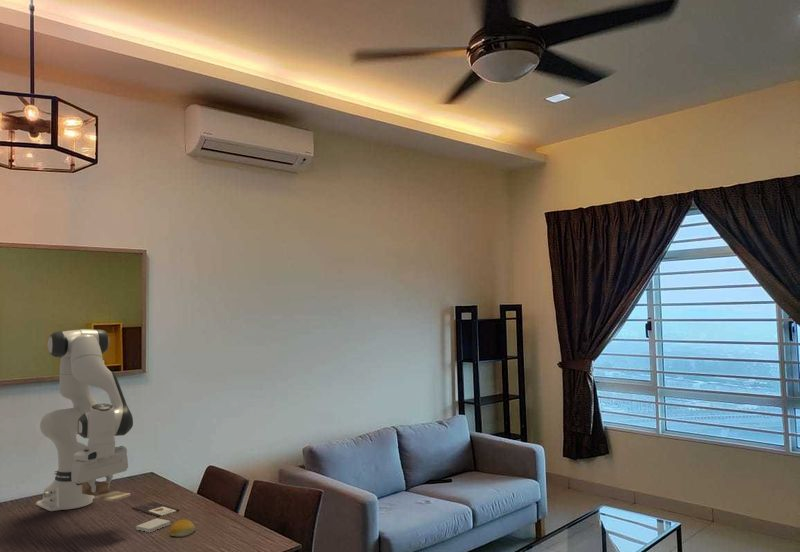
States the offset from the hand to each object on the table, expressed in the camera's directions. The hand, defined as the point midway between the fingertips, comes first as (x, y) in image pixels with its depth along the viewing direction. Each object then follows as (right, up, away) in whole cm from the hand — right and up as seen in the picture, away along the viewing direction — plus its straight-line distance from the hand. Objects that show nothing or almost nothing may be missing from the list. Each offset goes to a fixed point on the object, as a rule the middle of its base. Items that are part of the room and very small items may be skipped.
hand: (100, 490), depth 207 cm
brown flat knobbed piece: (+2, -2, -1) cm, 3 cm away
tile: (+15, -14, +4) cm, 21 cm away
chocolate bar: (+10, -17, +22) cm, 29 cm away
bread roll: (+30, -14, -3) cm, 33 cm away
